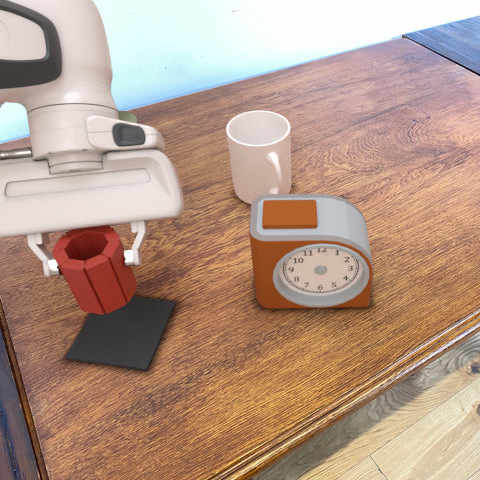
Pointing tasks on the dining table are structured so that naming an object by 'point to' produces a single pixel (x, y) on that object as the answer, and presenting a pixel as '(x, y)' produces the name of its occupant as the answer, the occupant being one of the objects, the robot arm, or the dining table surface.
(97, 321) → the mat
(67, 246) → the ring sleeve
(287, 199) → the alarm clock
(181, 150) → the dining table surface
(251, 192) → the mug
